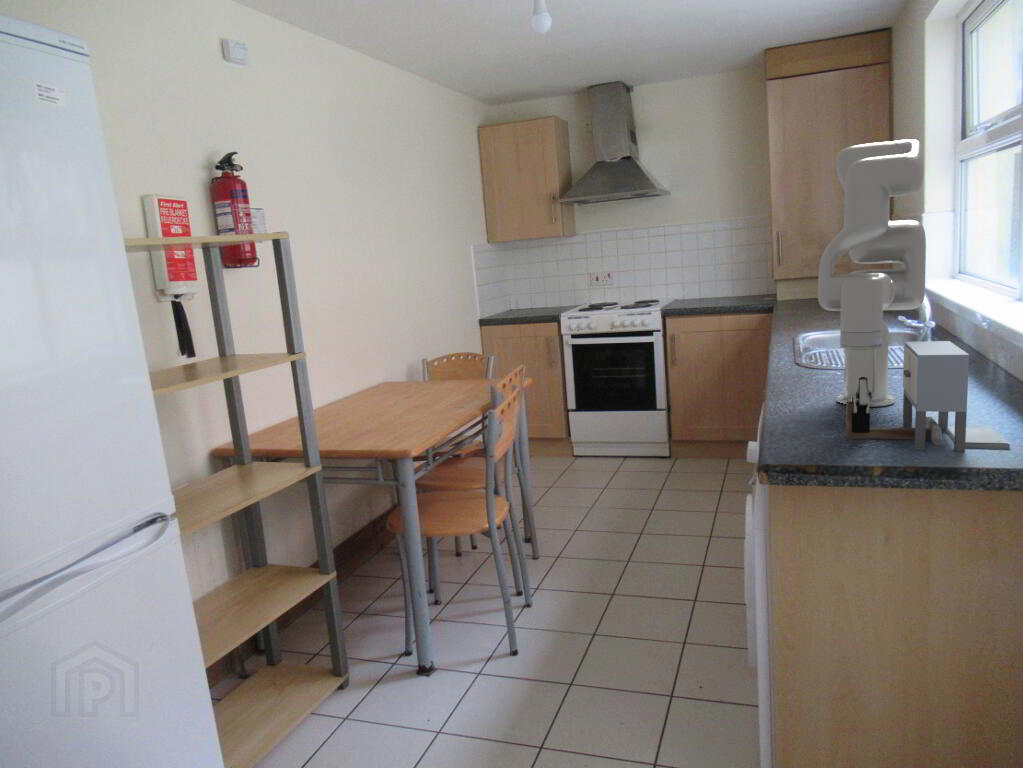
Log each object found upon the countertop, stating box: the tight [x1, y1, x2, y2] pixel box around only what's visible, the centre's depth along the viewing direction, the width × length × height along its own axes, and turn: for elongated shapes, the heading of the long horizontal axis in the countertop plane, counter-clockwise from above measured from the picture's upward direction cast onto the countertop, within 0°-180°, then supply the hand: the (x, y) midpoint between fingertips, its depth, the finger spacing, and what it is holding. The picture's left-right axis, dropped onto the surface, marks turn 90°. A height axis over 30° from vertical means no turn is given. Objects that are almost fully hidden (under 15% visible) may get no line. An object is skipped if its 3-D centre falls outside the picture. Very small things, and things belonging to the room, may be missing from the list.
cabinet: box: [902, 340, 970, 453], centre depth 145 cm, size 18×9×18 cm, turn 160°
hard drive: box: [945, 426, 1011, 450], centre depth 144 cm, size 2×8×12 cm
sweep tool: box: [845, 402, 942, 446], centre depth 148 cm, size 10×16×7 cm, turn 71°
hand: (859, 429), depth 151 cm, fingers closed on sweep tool, 3 cm apart
